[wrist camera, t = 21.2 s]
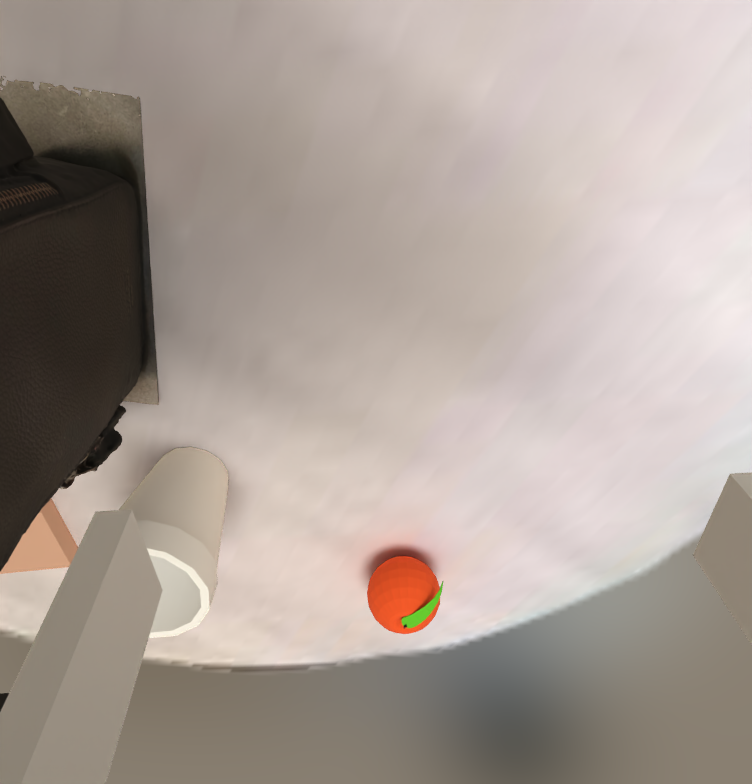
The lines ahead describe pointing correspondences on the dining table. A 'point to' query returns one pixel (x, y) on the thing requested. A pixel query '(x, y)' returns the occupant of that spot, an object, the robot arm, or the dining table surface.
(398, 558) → the clementine
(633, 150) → the dining table surface
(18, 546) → the tile
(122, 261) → the shoulder bag
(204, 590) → the foam cup
